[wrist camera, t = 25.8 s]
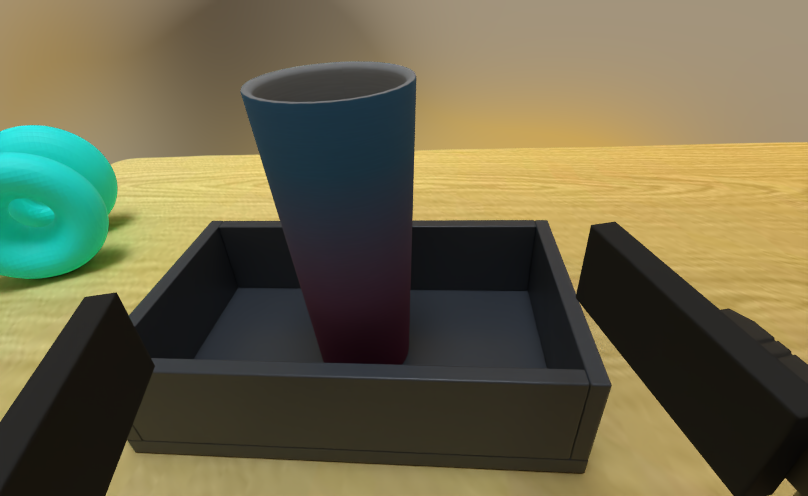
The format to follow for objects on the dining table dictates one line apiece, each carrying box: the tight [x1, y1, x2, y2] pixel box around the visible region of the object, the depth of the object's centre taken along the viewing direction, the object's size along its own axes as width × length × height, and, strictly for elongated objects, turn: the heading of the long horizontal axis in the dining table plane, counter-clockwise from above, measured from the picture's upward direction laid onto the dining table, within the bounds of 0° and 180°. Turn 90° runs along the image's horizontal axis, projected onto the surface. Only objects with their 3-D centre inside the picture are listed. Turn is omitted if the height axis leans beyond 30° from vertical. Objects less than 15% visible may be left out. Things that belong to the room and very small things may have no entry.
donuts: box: [0, 125, 118, 279], centre depth 35 cm, size 10×10×10 cm
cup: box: [241, 62, 416, 365], centre depth 21 cm, size 7×7×15 cm
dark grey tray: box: [127, 220, 611, 473], centre depth 24 cm, size 22×13×6 cm, turn 86°
